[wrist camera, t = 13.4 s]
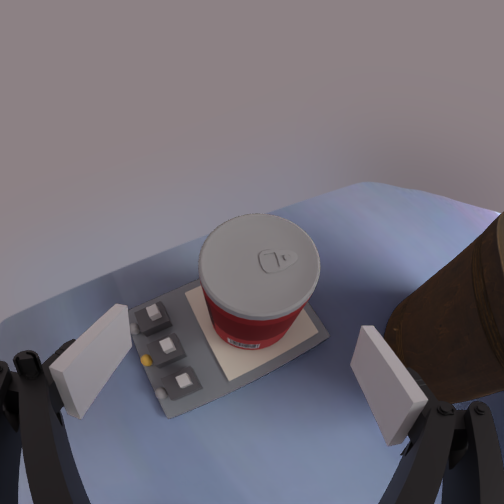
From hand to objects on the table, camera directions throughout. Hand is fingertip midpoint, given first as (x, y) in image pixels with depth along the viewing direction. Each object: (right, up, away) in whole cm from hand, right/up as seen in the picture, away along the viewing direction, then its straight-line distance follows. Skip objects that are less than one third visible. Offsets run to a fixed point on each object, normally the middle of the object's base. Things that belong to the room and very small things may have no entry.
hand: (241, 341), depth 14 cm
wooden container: (+22, -7, +13) cm, 27 cm away
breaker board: (-2, -3, +13) cm, 14 cm away
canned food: (0, -1, +13) cm, 13 cm away
